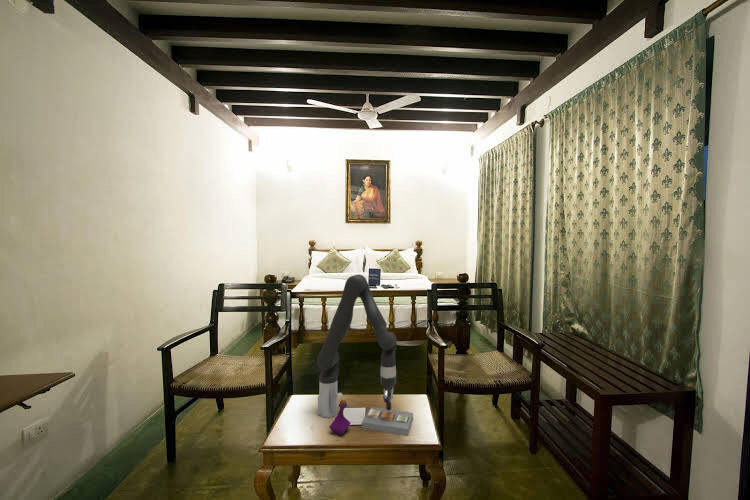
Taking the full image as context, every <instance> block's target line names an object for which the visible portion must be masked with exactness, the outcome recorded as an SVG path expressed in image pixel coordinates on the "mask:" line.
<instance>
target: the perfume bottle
mask: <svg viewBox="0 0 750 500" xmlns="http://www.w3.org/2000/svg"><path fill="white" fill-rule="evenodd" d="M336 397H337V398H338V397H339V398H341V400H340V401H339V404H338V407H339V411H338V412H337V414H336V416H335V418H334V420H333V421H332V422H331V424H330V425H329V427H328V428H329V429H330V430H331V431H332V432H333V434H336V435H340V436H342V435H344V434H345V432H347V430H348V429H349V427H350V425H351V424H352V423H351V421H350V420H349V419H347V417H345V416H344V411H345V409H346V408H347V407H348V403H347V400H345V399H344V394H343V393H342V392H337V395H336Z"/></svg>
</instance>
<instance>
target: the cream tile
mask: <svg viewBox="0 0 750 500" xmlns="http://www.w3.org/2000/svg"><path fill="white" fill-rule="evenodd" d="M367 413H368V412H367ZM380 415H381V411H380V410H374V409H371V410H370V412H369V413H368V418H374V419H379V417H380Z"/></svg>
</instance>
